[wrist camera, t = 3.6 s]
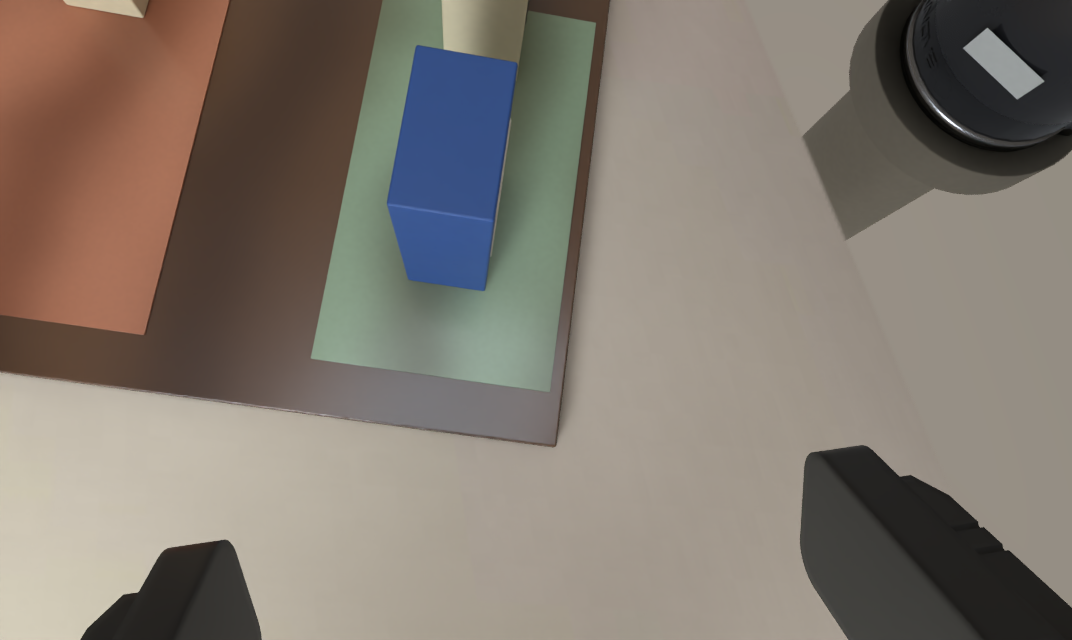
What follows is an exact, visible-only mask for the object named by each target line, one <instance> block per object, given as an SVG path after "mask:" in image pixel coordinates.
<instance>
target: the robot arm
mask: <svg viewBox="0 0 1072 640" xmlns="http://www.w3.org/2000/svg"><path fill="white" fill-rule="evenodd" d="M900 63H901V69H902V73H903V76H904V79H905V82H906V85H907V87H908V89H909V91H910V93H911V95H912V97H913V99H914V100H915V102H916V103H917V105H918V106H919V107H920V109H921V110H922V111H923V112H924V114H925V115H926V116H927V117H928V118H929V119H930V120H931V121H932V122H933V123H934V124H935V125H936V126H938V127H939V128H940V129H941V130H943V131H944V132H945V133H947V134H948V135H950V136H952V137H953V138H955V139H957V140H959V141H961V142H963V143H965V144H967V145H970V146H973V147H976V148H979V149H983V150H988V151H995V152H1012V151H1019V150H1024V149H1027V148H1030V147H1033V146H1035V145H1037V144H1039V143H1041V142H1043V141H1044V140H1046V139H1048V138H1050V137H1052V136H1053V135H1055V134H1058V135H1064V136H1070V135H1072V0H922V1H921V2H920V3H919V4H918V5H917V6H916V7H915V8H914V9H913V11H912V12H911V13H910V15H909V17H908V19H907V20H906V23H905V25H904V28H903V31H902V34H901V40H900ZM800 547H801V554H802V559H803V563H804V566H805V569H806V572H807V574H808V577H809V579H810V581H811V583H812V585H813V587H814V588H815V590H816V591H817V593H818V594H819V596H820V597H821V599H822V600H823V602H824V603H825V605H826V606H827V608H828V609H829V611H830V612H831V614H832V616H833V617H834V619H835V620H836V622H837V623H838V625H839V626H840V628H841V629H842V631H843V632H844V634H845V635H846V637H847V638H848V640H1072V608H1071V607H1070V606H1069V605H1068V604H1067V603H1066V602H1065V601H1064V600H1063V599H1061V598H1060V597H1059V596H1058V595H1057V594H1056V593H1055V592H1054V591H1053V590H1052V589H1051V588H1049V587H1048V586H1047V585H1046V584H1045V583H1044V582H1043V581H1042V580H1041V579H1040V578H1039V577H1037V576H1036V575H1035V574H1034V573H1033V572H1032V571H1031V570H1030V569H1029V568H1028V567H1027V566H1025V565H1024V564H1023V563H1022V562H1021V561H1020V560H1019V559H1018V558H1017V557H1016V556H1014V555H1013V554H1012V553H1011V552H1010V551H1008V550H1007V551H1005V550H1004V549H1003V546H1002V543H1000V542H999V541H998V540H997V539H996V538H995V537H994V536H993V535H992V534H991V533H990V532H988V531H987V530H986V529H985V528H984V527H983V528H980V527H979V525H978V521H977V520H975V519H974V518H973V517H972V516H971V515H970V514H969V513H968V512H967V511H966V510H964V509H963V508H962V507H961V506H960V505H959V504H958V503H957V502H956V501H955V500H954V499H953V498H951V497H950V496H949V495H947V494H945V493H944V492H942V491H940V490H938V489H936V488H934V487H932V486H930V485H928V484H926V483H924V482H923V481H921V480H919V479H917V478H915V477H913V476H911V475H909V476H902V477H899V476H898V475H897V474H896V473H895V472H894V471H893V470H892V469H891V468H890V467H889V466H888V465H887V464H886V463H885V462H884V461H883V460H882V459H881V458H880V457H879V456H878V455H877V454H876V453H875V452H874V451H873V450H871V449H870V448H869V447H867V446H864V445H860V446H853V447H846V448H839V449H833V450H826V451H819V452H812V453H810V454H809V455H808V456H807V458H806V461H805V467H804V482H803V499H802V516H801V533H800ZM81 640H262V639H261V631H260V626H259V622H258V619H257V616H256V613H255V610H254V607H253V604H252V601H251V598H250V594H249V591H248V588H247V585H246V582H245V579H244V576H243V573H242V569H241V566H240V563H239V560H238V557H237V554H236V551H235V549H234V547H233V545H232V544H231V543H230V542H229V541H228V540H220V541H213V542H206V543H199V544H192V545H186V546H179V547H172V548H167V549H166V550H164V551H163V552H162V553H161V554H160V556H159V557H158V559H157V561H156V563H155V564H154V566H153V568H152V570H151V571H150V573H149V575H148V577H147V579H146V580H145V582H144V584H143V586H142V587H141V589H140V591H139V592H138V593H132V594H125V595H123V596H122V597H121V598H119V599H118V600H117V601H116V602H115V603H114V604H113V605H112V606H111V607H110V608H109V609H108V610H107V611H106V612H105V613H103V614H102V615H101V616H100V617H99V618H98V619H97V620H96V621H95V622H94V623H93V624H92V625H91V626H90V627H88V628H87V630H86V632H85V633H84V635H83V636H82V638H81Z"/></svg>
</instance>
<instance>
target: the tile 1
mask: <svg viewBox="0 0 1072 640" xmlns="http://www.w3.org/2000/svg"><path fill="white" fill-rule="evenodd" d="M63 1H64V2H65V3H66V4H67V5H71V6H76V7H82V8H88V9H94V10H99V11H105V12H111V13H117V14H122V15H128V16H134V17H140V18H144V15H145V12H146V8H147V5H148V1H149V0H63Z"/></svg>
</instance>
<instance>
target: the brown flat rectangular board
mask: <svg viewBox="0 0 1072 640" xmlns="http://www.w3.org/2000/svg"><path fill="white" fill-rule="evenodd" d="M609 4H610V0H530V1H529V8H528V15H527V22H526V24H525V27H524V34H523V40H522V47H521V54H520V61H519V67H518V74H517V80H516V82H515V89H514V96H513V103H512V111H511V127H510V134H509V141H508V147H507V154H506V161H505V168H504V175H503V182H502V189H501V196H500V202H499V209H498V216H497V222H496V229H495V236H494V243H493V249H492V256H491V257H490V261H489V268H488V274H487V281H486V288H485V291H479V290H472V289H465V288H459V287H452V286H446V285H439V284H432V283H426V282H419V281H412V280H409V279H408V277H407V274H406V270H405V267H404V263H403V260H402V256H401V253H400V249H399V246H398V242H397V238H396V235H395V231H394V228H393V224H392V221H391V217H390V214H389V210H388V207H387V198H388V193H389V187H390V182H391V176H392V171H393V166H394V160H395V155H396V150H397V144H398V139H399V133H400V128H401V123H402V117H403V112H404V107H405V101H406V96H407V91H408V85H409V80H410V74H411V69H412V64H413V58H414V53H415V48H416V46H417V45H421V46H427V47H433V48H438V49H444V48H443V25H442V1H441V0H149V1H148V5H147V8H146V12H145V15H144V18H140V17H134V16H128V15H122V14H117V13H111V12H105V11H99V10H94V9H88V8H82V7H76V6H71V5H67V4H66V3H65V2H64V1H63V0H0V372H1V373H8V374H16V375H23V376H30V377H38V378H45V379H53V380H60V381H67V382H75V383H82V384H90V385H97V386H104V387H112V388H119V389H126V390H134V391H141V392H149V393H156V394H163V395H171V396H178V397H186V398H193V399H200V400H208V401H215V402H222V403H230V404H237V405H245V406H252V407H259V408H267V409H274V410H282V411H289V412H296V413H304V414H311V415H318V416H326V417H333V418H341V419H348V420H355V421H363V422H370V423H378V424H385V425H392V426H400V427H407V428H414V429H422V430H429V431H437V432H444V433H451V434H459V435H466V436H473V437H481V438H488V439H496V440H503V441H510V442H518V443H525V444H533V445H540V446H547V447H555V446H556V443H557V434H558V426H559V418H560V410H561V401H562V393H563V385H564V376H565V368H566V360H567V352H568V343H569V335H570V327H571V318H572V310H573V302H574V294H575V285H576V277H577V269H578V261H579V252H580V244H581V236H582V227H583V219H584V211H585V203H586V194H587V186H588V178H589V170H590V161H591V153H592V145H593V136H594V128H595V120H596V112H597V103H598V95H599V87H600V79H601V70H602V62H603V54H604V45H605V37H606V29H607V21H608V12H609Z"/></svg>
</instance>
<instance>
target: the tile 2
mask: <svg viewBox="0 0 1072 640" xmlns="http://www.w3.org/2000/svg"><path fill="white" fill-rule="evenodd" d="M441 1H442V25H443V48H444V50H450V51H455V52H461V53H467V54H472V55H478V56H484V57H490V58H495V59H501V60H507V61H512V62H516V63H517V64H518V67H519V61H520V54H521V47H522V40H523V34H524V27H525V24H526V22H527V15H528V8H529V1H530V0H441ZM517 74H518V68H517ZM516 80H517V75H516Z"/></svg>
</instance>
